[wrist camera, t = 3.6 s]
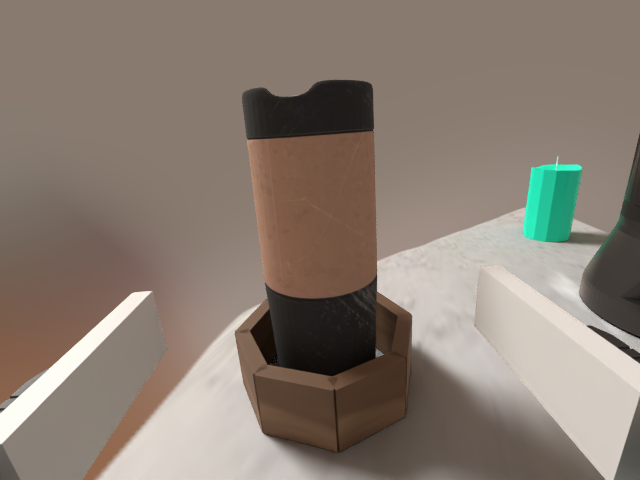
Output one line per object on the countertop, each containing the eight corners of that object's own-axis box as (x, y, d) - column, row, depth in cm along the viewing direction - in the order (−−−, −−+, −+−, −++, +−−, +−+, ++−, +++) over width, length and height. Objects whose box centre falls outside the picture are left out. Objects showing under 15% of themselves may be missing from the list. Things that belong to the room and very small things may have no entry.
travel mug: (338, 332, 30) (324, 97, 24) (400, 380, 24) (404, 80, 17) (262, 367, 26) (221, 98, 20) (312, 436, 20) (276, 77, 14)
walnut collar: (413, 338, 28) (414, 292, 27) (400, 468, 18) (401, 404, 16) (288, 321, 32) (283, 280, 31) (215, 420, 21) (203, 365, 20)
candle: (553, 229, 53) (565, 153, 49) (579, 240, 47) (596, 156, 43) (515, 230, 53) (524, 156, 49) (536, 242, 48) (549, 159, 44)
